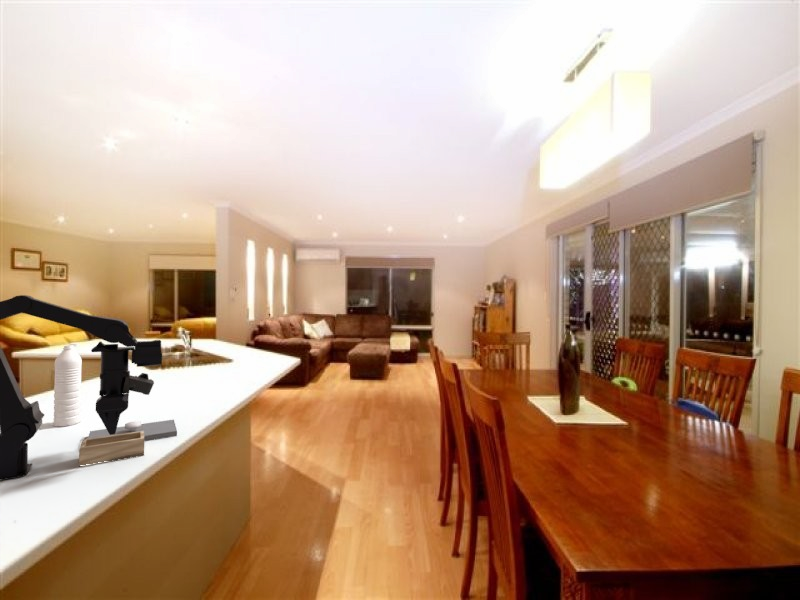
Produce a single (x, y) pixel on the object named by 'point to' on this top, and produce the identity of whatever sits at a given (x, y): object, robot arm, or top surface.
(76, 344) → the water bottle
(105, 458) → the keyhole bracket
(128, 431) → the grey plate with ball
